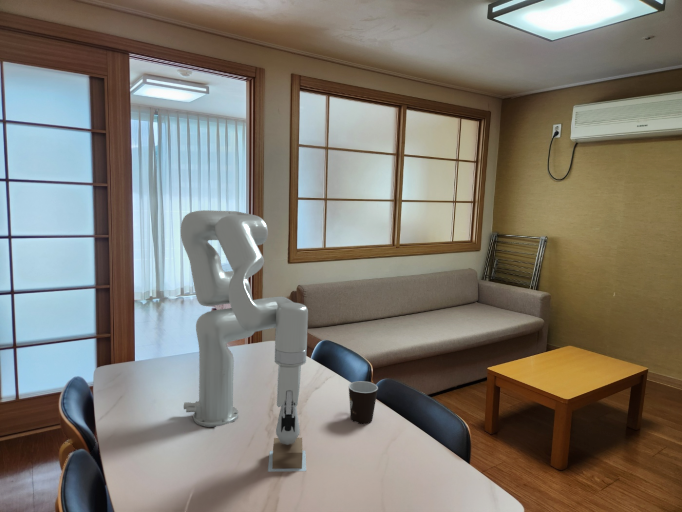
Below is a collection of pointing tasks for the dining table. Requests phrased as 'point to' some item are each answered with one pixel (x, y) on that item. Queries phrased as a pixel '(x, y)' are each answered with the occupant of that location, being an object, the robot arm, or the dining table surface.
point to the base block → (287, 455)
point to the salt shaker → (287, 436)
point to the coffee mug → (362, 401)
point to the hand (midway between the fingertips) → (287, 427)
